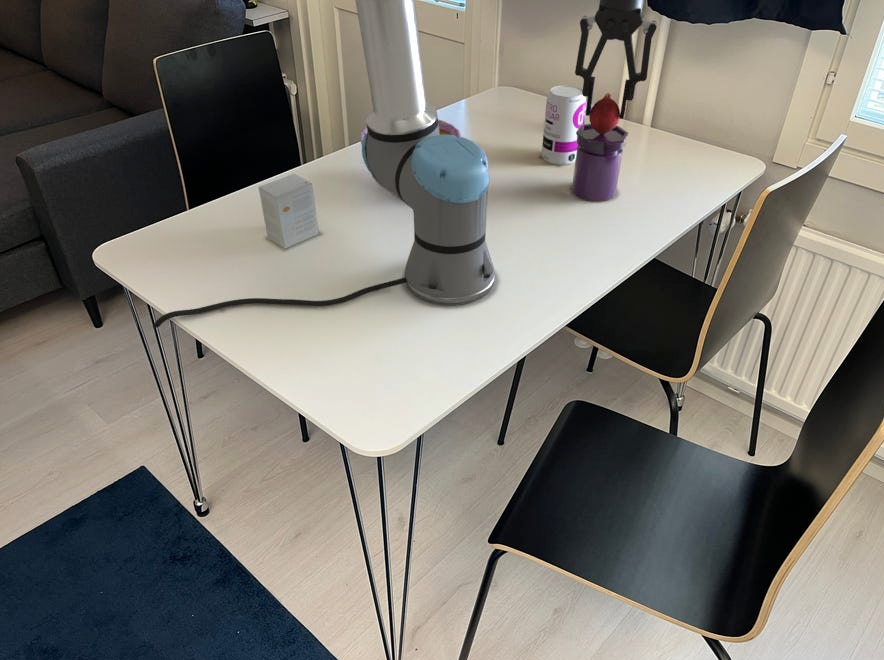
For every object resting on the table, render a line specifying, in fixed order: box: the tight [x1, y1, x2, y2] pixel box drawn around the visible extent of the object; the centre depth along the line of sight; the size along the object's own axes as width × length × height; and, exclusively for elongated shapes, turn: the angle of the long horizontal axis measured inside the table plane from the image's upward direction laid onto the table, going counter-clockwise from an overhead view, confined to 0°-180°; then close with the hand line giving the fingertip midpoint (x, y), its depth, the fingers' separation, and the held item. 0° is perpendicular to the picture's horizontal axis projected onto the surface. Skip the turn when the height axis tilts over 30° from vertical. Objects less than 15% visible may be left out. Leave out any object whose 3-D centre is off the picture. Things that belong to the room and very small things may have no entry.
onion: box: [588, 92, 621, 135], centre depth 138 cm, size 6×6×8 cm
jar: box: [571, 123, 629, 202], centre depth 145 cm, size 10×10×13 cm
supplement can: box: [541, 84, 586, 166], centre depth 156 cm, size 8×8×15 cm
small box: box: [258, 173, 320, 250], centre depth 130 cm, size 8×6×10 cm
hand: (605, 114), depth 138 cm, fingers closed on onion, 6 cm apart
